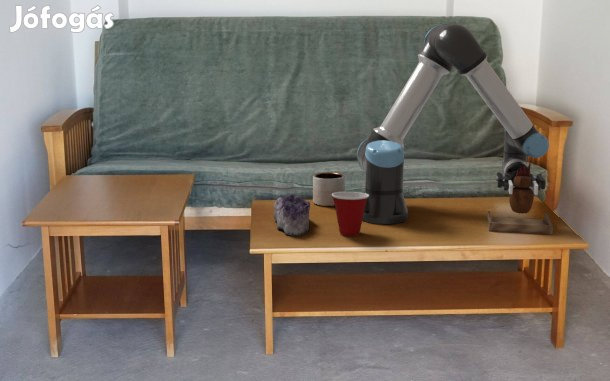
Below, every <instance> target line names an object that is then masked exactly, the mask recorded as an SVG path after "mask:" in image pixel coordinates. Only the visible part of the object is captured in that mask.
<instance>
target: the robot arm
mask: <svg viewBox="0 0 610 381" xmlns="http://www.w3.org/2000/svg"><path fill="white" fill-rule="evenodd" d="M417 57H418V63H417V66H416V67H415V68H414V70H413V71H412V73H411V74H410V77H409V79H408V80H407V82H406V83H405V85H404V87H403V88H402V90H401V92H400V93H399V94H398V97H397V98H396V99H395V101H394V103H393V105H392V106H391V108H390V110H389V111H388V113H387V115H386V117H385V118H384V120H383V121H382V123H381V125H380V126H378V127H375V128H372V130H371V132H370V134H369V136H368V137H367V138H366V139H364V140H363V141H362V142H361V143H360V144H359V146H358V148H357V152H356V157H357V162H358V166H360V167H359V168H360V169H361V170H362V171H364V173H365V178H364V179H365V182H364V183H365V184H364V186H365V188H364V189H365V191H364V192H365V193H366V194H369V197H368V199H367V201H366V205H365V209H364V214H363V220H362V222H363V221H364V222H367V223H369V224H370V223H371V224H376V225H377V224H378V225H393V224H395V225H396V224H400V223H404V222H405V221H407V220H408V219H409V211H408V210H409V209H408V207H407V204H406V199H405V197H404V169H405V168H404V166H405V165H404V163H405V161H404V160H405V153H404V151H405V150H404V148H405V144H404V139H405V137H406V135H407V134H408V132H409V131H410V130H411V128H412V127H413V125H414V123H415V121H416V119H417V118H418V116H419V115H420V113H421V111H422V110H423V108H424V106H425V105H426V103H427V101H428V100H429V98H430V97H431V95H432V93H433V92H434V90H435V89H436V87H437V85H438V84H439V82H440V81H441V78H442V77H443V76H445V75H450V73H451V71H452V70H453V68H454V69H455V70H456V71H457V72H458V74H459V75H460V76H462V77H465V78H467V80H468V81H469V82H470V84H471V85H472V87H473V88H474V89H475V91H476V92H477V93H478V95H479V96H480V98H481V99H482V100H483V102H484V103H485V104H486V105H487V107H488V108H489V110H490V111H491V112H492V114H493V115H494V116H495V117H496V119H497V120H498V121H499V123H500V124H501V126H502V127H503V128H504V141H503V142H504V143H503V144H504V145H503V147H504V148H503V158H502V159H503V160H502V163H501V165H502V166H501V169H502V171H503V173H502V172H497V173H496V177H495V179H496V182H497V188H499V189H500V188H502V187H503V191H504V192H505V191H507V192H508V193H509V195H510V194H512V191H513V187H515V186H514V178H515V176H516V174H517V170H518V171H519V172H520V168H522V172H523V167H524V164H525V168H526V172H527V169H528V166H529V165H528V164H527V163H528V157H530V158H534V159H537V158H541V157H543V156H545V155H546V154H547V152H548V150H549V147H550V142H549V140H548V138H547V137H546V136H545V135H544V134H542V133H540V131H539V130H538V129H537V128H536V126H535V125H534V124H533V122H532V121H531V120H530V118H529V117H528V116H527V114H526V113H525V112H524V110H523V108H522V107H521V106H520V104H519V103H518V101H517V100H516V99H515V98H514V97H513V94H511V92H510V90H509V89H508V88H507V87H506V84H505V83H504V82H503V81H502V80H501V78H500V77H499V75H498V74H497V73H496V71H495V70H494V69H493V67H492V66H491V64H490V63H489V62H488V55H487V53H486V52H485V50H484V49H483V47H482V45H481V44H480V42H479V41H478V40H477V39H476V37H475V36H474V34H473V33H472V32H471V30H469V29H468V28H467V27H465V26H464V25H462V24H457V23H453V24H451V23H441V24H438V25H436V26H434V27H432V28H430V30H429V31H428V32H427V33H426V35H425V37H424V40H423V46H422V47H421V49H420V51H419V53H417ZM530 178H531V186H530V187H529V188H531V189H532V191H533V193H534V196H538V195H539V194H538V193H539V191H541V190H545V189H546V180H545V178H544V177H543V175H542V173H538V174H535V175H534V174H533V173H531V172H530Z"/></svg>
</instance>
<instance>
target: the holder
mask: <svg viewBox="0 0 610 381" xmlns="http://www.w3.org/2000/svg"><path fill="white" fill-rule="evenodd" d="M486 215H487V218H486V221H487V225H488V232H497V233H500V232H501V233H521V234H535V235H536V234H539V235H553V233H554V232H553V230H554V225H553V224H552V221H551V219H550V217H549V215H548V213H544V214H543V216H544V217H543V219H536V218H535V219H533V218H509V217H492V213H491V211H490V210H487V214H486Z"/></svg>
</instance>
